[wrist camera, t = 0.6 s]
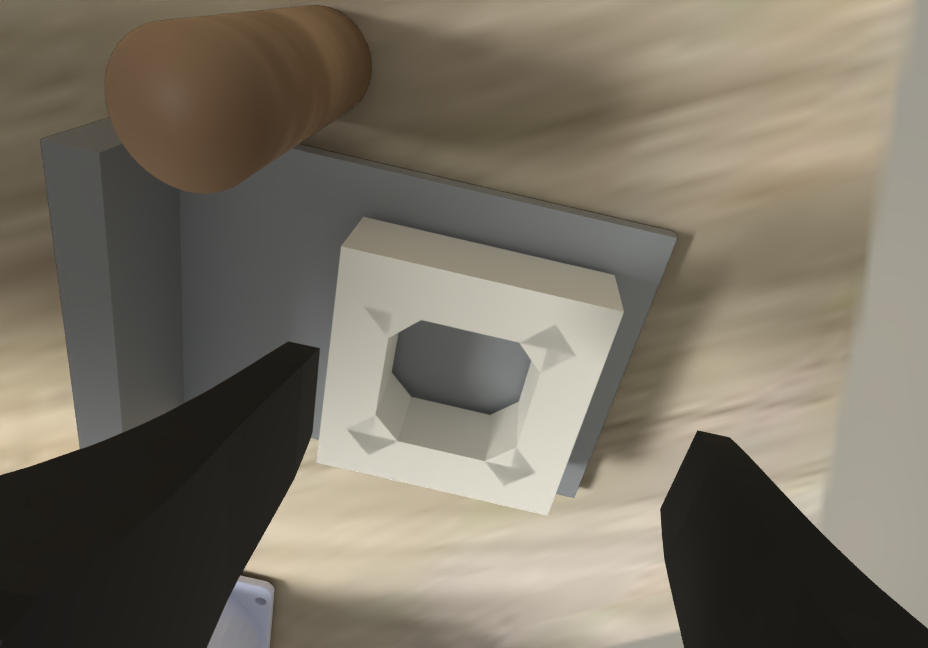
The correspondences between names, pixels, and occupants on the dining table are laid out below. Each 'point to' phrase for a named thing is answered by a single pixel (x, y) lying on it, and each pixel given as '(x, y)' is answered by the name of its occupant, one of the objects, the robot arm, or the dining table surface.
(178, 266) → the base board
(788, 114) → the dining table surface
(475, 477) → the holed block
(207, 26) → the dowel
